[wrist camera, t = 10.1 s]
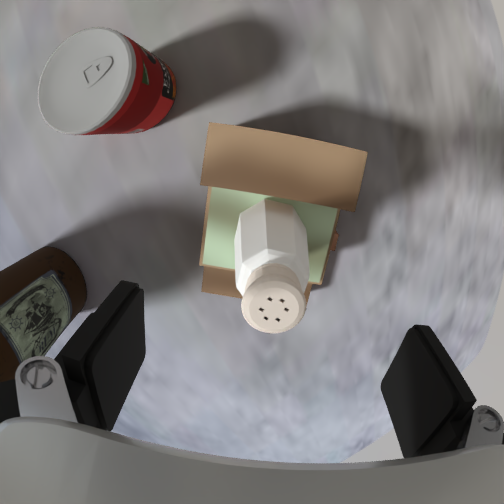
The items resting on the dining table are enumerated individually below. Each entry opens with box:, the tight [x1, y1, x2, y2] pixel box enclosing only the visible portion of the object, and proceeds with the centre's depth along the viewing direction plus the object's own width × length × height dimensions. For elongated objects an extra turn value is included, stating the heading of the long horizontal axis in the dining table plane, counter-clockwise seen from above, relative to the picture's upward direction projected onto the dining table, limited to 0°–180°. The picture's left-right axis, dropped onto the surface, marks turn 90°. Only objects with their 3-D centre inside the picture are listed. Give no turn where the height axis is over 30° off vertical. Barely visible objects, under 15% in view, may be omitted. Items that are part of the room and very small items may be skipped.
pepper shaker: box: [234, 199, 310, 333], centre depth 18 cm, size 5×5×11 cm
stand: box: [199, 122, 368, 305], centre depth 25 cm, size 15×11×10 cm
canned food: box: [38, 27, 176, 135], centre depth 20 cm, size 8×8×11 cm
